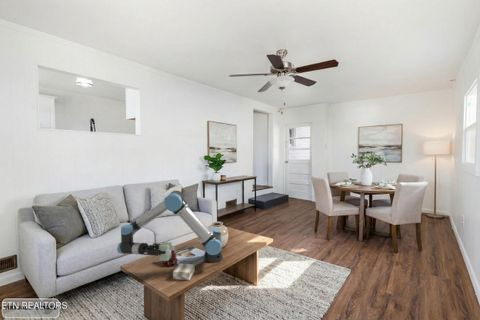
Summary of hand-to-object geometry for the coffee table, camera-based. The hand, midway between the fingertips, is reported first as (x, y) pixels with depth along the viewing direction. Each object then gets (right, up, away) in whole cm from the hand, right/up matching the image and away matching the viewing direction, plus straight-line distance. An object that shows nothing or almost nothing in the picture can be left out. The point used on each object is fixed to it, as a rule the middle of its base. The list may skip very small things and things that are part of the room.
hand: (172, 250), depth 159 cm
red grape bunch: (-6, -17, +16) cm, 24 cm away
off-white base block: (+8, -17, 0) cm, 19 cm away
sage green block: (-5, -6, +1) cm, 8 cm away
